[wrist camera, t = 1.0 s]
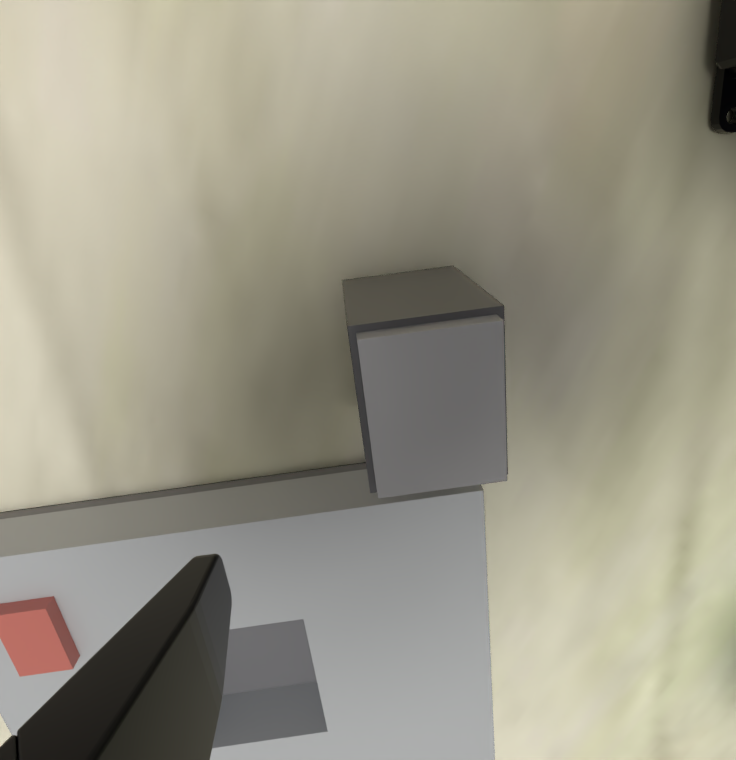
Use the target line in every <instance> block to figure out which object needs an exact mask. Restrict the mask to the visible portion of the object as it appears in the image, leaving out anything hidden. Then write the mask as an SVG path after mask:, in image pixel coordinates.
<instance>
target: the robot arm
mask: <svg viewBox="0 0 736 760" xmlns="http://www.w3.org/2000/svg"><path fill="white" fill-rule="evenodd" d="M715 61H716V63H717V68H716V77H715V86H714V94H713V103H712V112H711V126H712V127H713V129H714V130H715V131H716V132H718V133H733V132H736V0H722V5H721V14H720V23H719V32H718V41H717V50H716V59H715ZM730 109H731V110H732V111H733V118H732V121H731V122H730V123H728V122H727V118H726V116H727V113H728V111H729V110H730ZM231 609H232V596H231V590H230V586H229V582H228V579H227V575H226V571H225V568H224V564H223V560H222V558H221V556H220V555H218V554H208V555H200V556H196V557H194V558H192V559H191V560H190V561H189V562H188V563H187V564H186V565H185V566H184V567H183V568H182V569H181V570H180V571H179V572H178V573H177V574H176V575H175V576H174V577H173V578H172V579H171V580H170V581H169V582H168V583H167V584H166V585H165V586H164V587H163V588H162V589H161V590H159V591H158V592H157V593H156V594H155V595H154V596H153V597H152V598H151V599H150V600H149V601H148V602H147V603H146V604H145V605H144V606H143V607H142V608H141V609H140V610H139V611H138V612H137V613H136V614H135V615H134V616H133V617H132V618H131V619H130V620H129V621H128V622H127V623H126V624H125V625H124V626H123V627H122V628H121V629H120V630H119V631H118V632H117V633H116V634H115V635H114V636H113V637H112V638H111V639H110V640H109V641H108V642H107V643H106V644H105V645H104V646H103V647H102V648H100V649H99V650H98V651H97V652H96V653H95V654H94V655H93V656H92V657H91V658H90V659H89V660H88V661H87V662H86V663H85V664H84V665H83V666H82V667H81V668H80V669H79V670H78V671H77V672H76V673H75V674H74V675H73V676H72V677H71V678H70V679H69V680H68V681H67V682H66V683H65V684H64V685H63V686H62V687H61V688H60V689H59V690H58V691H57V692H56V693H55V694H54V695H53V696H52V697H51V698H50V699H49V700H48V701H47V702H46V703H45V704H44V705H43V706H41V707H40V708H39V709H38V710H37V711H36V712H35V713H34V714H33V715H32V716H31V717H30V718H29V719H28V720H27V721H26V722H25V723H24V724H23V725H22V726H21V727H20V728H19V729H18V731H17V736H16V735H12V736H11V737H10V738H9V739H8V740H7V741H6V742H5V743H4V744H3V745H2V746H1V747H0V760H210V756H211V751H212V747H213V742H214V737H215V732H216V728H217V723H218V718H219V713H220V708H221V702H222V696H223V688H224V679H225V669H226V659H227V649H228V639H229V629H230V619H231Z"/></svg>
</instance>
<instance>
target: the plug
mask: <svg viewBox="0 0 736 760" xmlns="http://www.w3.org/2000/svg"><path fill="white" fill-rule="evenodd" d="M342 284H343V293H344V302H345V311H346V320H347V329H348V336H349V343H350V350H351V358H352V365H353V372H354V379H355V387H356V394H357V401H358V409H359V416H360V423H361V430H362V438H363V445H364V452H365V459H366V467H367V474H368V481H369V488H370V493H376V492H377V495H378V498H386V497H393V496H400V495H407V494H414V493H422V492H429V491H436V490H443V489H450V488H458V487H465V486H472V485H479V484H486V483H494V482H501V481H507V474H508V465H507V420H506V374H505V329H504V305H503V304H501V303H500V302H499V301H498V300H496V299H495V298H494V297H493V296H491V295H490V294H489V293H487V292H486V291H485V290H484V289H482V288H481V287H480V286H478V285H477V284H476V283H475V282H473V281H472V280H471V279H469V278H468V277H467V276H466V275H464V274H463V273H462V272H461V271H459V270H458V269H457V268H455V267H454V266H447V267H440V268H432V269H424V270H417V271H409V272H401V273H394V274H386V275H379V276H371V277H363V278H356V279H348V280H342Z"/></svg>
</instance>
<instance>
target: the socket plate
mask: <svg viewBox="0 0 736 760" xmlns="http://www.w3.org/2000/svg"><path fill="white" fill-rule="evenodd" d="M208 554H218V555H220V556H221V558H222V560H223V564H224V568H225V571H226V575H227V579H228V582H229V586H230V590H231V596H232V609H231V619H230V629H229V639H228V649H227V659H226V669H225V679H224V688H223V696H222V702H221V708H220V713H219V718H218V723H217V728H216V732H215V737H214V742H213V747H212V751H211V756H210V760H495V750H494V727H493V703H492V680H491V656H490V633H489V609H488V585H487V562H486V538H485V515H484V491H483V488H482V486H481V484H479V485H472V486H465V487H458V488H450V489H443V490H436V491H429V492H422V493H414V494H407V495H400V496H393V497H386V498H378V495H377V492H376V493H370V488H369V481H368V474H367V467H366V463H360V464H352V465H345V466H338V467H330V468H323V469H316V470H309V471H301V472H294V473H287V474H279V475H272V476H265V477H258V478H250V479H243V480H236V481H228V482H221V483H214V484H206V485H199V486H192V487H185V488H177V489H170V490H163V491H155V492H148V493H141V494H134V495H126V496H119V497H112V498H104V499H97V500H90V501H82V502H75V503H68V504H61V505H53V506H46V507H39V508H31V509H24V510H17V511H10V512H2V513H0V714H1V716H2V718H3V720H4V722H5V723H6V725H7V727H8V729H9V731H10V732H11V734H12V735H16V736H17V731H18V729H19V728H20V727H21V726H22V725H23V724H24V723H25V722H26V721H27V720H28V719H29V718H30V717H31V716H32V715H33V714H34V713H35V712H36V711H37V710H38V709H39V708H40V707H41V706H43V705H44V704H45V703H46V702H47V701H48V700H49V699H50V698H51V697H52V696H53V695H54V694H55V693H56V692H57V691H58V690H59V689H60V688H61V687H62V686H63V685H64V684H65V683H66V682H67V681H68V680H69V679H70V678H71V677H72V676H73V675H74V674H75V673H76V672H77V671H78V670H79V669H80V668H81V667H82V666H83V665H84V664H85V663H86V662H87V661H88V660H89V659H90V658H91V657H92V656H93V655H94V654H95V653H96V652H97V651H98V650H99V649H100V648H102V647H103V646H104V645H105V644H106V643H107V642H108V641H109V640H110V639H111V638H112V637H113V636H114V635H115V634H116V633H117V632H118V631H119V630H120V629H121V628H122V627H123V626H124V625H125V624H126V623H127V622H128V621H129V620H130V619H131V618H132V617H133V616H134V615H135V614H136V613H137V612H138V611H139V610H140V609H141V608H142V607H143V606H144V605H145V604H146V603H147V602H148V601H149V600H150V599H151V598H152V597H153V596H154V595H155V594H156V593H157V592H158V591H159V590H161V589H162V588H163V587H164V586H165V585H166V584H167V583H168V582H169V581H170V580H171V579H172V578H173V577H174V576H175V575H176V574H177V573H178V572H179V571H180V570H181V569H182V568H183V567H184V566H185V565H186V564H187V563H188V562H189V561H190V560H191V559H192V558H194V557H196V556H200V555H208Z"/></svg>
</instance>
